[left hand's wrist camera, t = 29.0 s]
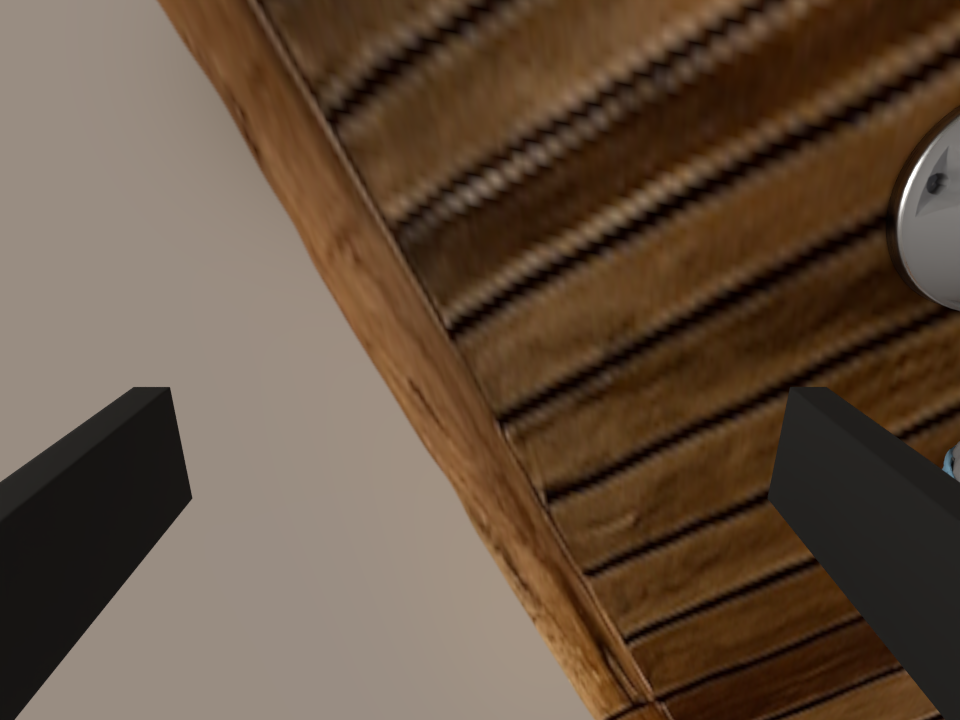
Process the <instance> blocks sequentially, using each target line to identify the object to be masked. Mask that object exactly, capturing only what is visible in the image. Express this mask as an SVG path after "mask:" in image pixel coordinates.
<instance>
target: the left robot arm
mask: <svg viewBox="0 0 960 720" xmlns="http://www.w3.org/2000/svg"><path fill="white" fill-rule="evenodd" d="M886 237H887V245H888V250H889V254H890V257H891V260H892V262H893V264H894V266H895V269H896V270H897V272H898V274H899V275H900V277H901V278H902V279H903V280H904V282H905V283H906V284H907V285H908V286H909V287H910V288H911V289H912V290H913V291H915V292H916V293H918V294H919V295H920V296H922V297H924V298H926V299H928V300H930V301H932V302H935V303H937V304H940V305H943V306H946V307H949V308H951V309H955V310H958V311H960V106H959V107H957V108H956V109H954V110H953V111H952V112H950V113H949V114H948V115H946V116H945V117H944V118H943V119H942V120H941V121H939V122H938V123H937V124H936V125H935V126H934V127H933V128H932V129H931V130H930V131H929V132H928V133H927V134H926V135H925V136H924V138H923V139H922V140H921V141H920V142H919V144H918V145H917V146H916V147H915V149H914V150H913V152H912V153H911V155H910V156H909V158H908V159H907V161H906V163H905V164H904V166H903V168H902V170H901V172H900V174H899V176H898V178H897V180H896V183H895V185H894V188H893V191H892V194H891V197H890V201H889V206H888V211H887V219H886ZM191 499H192V495H191V489H190V484H189V479H188V474H187V470H186V465H185V460H184V455H183V450H182V445H181V440H180V435H179V430H178V425H177V420H176V415H175V410H174V405H173V400H172V395H171V390H170V387H133V388H132V389H130V390H129V391H128V392H126V393H125V394H123V395H122V396H121V397H119V398H118V399H116V400H115V401H114V402H112V403H111V404H109V405H108V406H107V407H105V408H104V409H102V410H101V411H100V412H98V413H97V414H95V415H94V416H92V417H91V418H90V419H88V420H87V421H86V422H84V423H83V424H81V425H80V426H78V427H77V428H76V429H74V430H73V431H71V432H70V433H69V434H67V435H66V436H64V437H63V438H62V439H60V440H59V441H57V442H56V443H55V444H53V445H52V446H50V447H49V448H48V449H46V450H45V451H43V452H42V453H41V454H39V455H38V456H36V457H35V458H34V459H32V460H31V461H29V462H28V463H27V464H25V465H24V466H22V467H21V468H20V469H18V470H17V471H15V472H14V473H13V474H11V475H10V476H8V477H7V478H6V479H4V480H3V481H1V482H0V720H15V718H16V717H17V716H18V715H19V713H20V712H21V711H22V710H23V708H24V707H25V706H26V705H27V703H28V702H29V701H30V700H31V698H32V697H33V696H34V695H35V694H36V692H37V691H38V690H39V688H40V687H41V686H42V685H43V684H44V682H45V681H46V680H47V679H48V677H49V676H50V675H51V674H52V672H53V671H54V670H55V669H56V667H57V666H58V665H59V664H60V662H61V661H62V660H63V659H64V657H65V656H66V655H67V654H68V652H69V651H70V650H71V649H72V647H73V646H74V645H75V644H76V642H77V641H78V640H79V639H80V637H81V636H82V635H83V634H84V633H85V631H86V630H87V629H88V628H89V626H90V625H91V624H92V622H93V621H94V620H95V619H96V618H97V616H98V615H99V614H100V613H101V611H102V610H103V609H104V608H105V606H106V605H107V604H108V603H109V601H110V600H111V599H112V598H113V596H114V595H115V594H116V593H117V591H118V590H119V589H120V588H121V586H122V585H123V584H124V583H125V582H126V580H127V579H128V578H129V577H130V575H131V574H132V573H133V572H134V570H135V569H136V568H137V567H138V565H139V564H140V563H141V562H142V560H143V559H144V558H145V557H146V555H147V554H148V553H149V552H150V550H151V549H152V548H153V547H154V545H155V544H156V543H157V542H158V540H159V539H160V538H161V537H162V535H163V534H164V533H165V532H166V530H167V529H168V528H169V527H170V525H171V524H172V523H173V522H174V521H175V519H176V518H177V517H178V515H179V514H180V513H181V512H182V511H183V509H184V508H185V507H186V506H187V504H188V503H189V502H190V501H191ZM768 499H769V501H770V502H771V503H772V504H773V506H774V507H775V508H776V509H777V511H778V512H779V513H780V514H781V516H782V517H783V518H784V519H785V521H786V522H787V523H788V524H789V526H790V527H791V528H792V529H793V530H794V532H795V533H796V534H797V535H798V537H799V538H800V539H801V540H802V542H803V543H804V544H805V545H806V547H807V548H808V549H809V550H810V552H811V553H812V554H813V555H814V557H815V558H816V559H817V560H818V562H819V563H820V564H821V565H822V567H823V568H824V569H825V570H826V572H827V573H828V574H829V575H830V577H831V578H832V579H833V580H834V582H835V583H836V584H837V585H838V586H839V588H840V589H841V590H842V591H843V593H844V594H845V595H846V596H847V598H848V599H849V600H850V601H851V603H852V604H853V605H854V606H855V608H856V609H857V610H858V611H859V613H860V614H861V615H862V616H863V618H864V619H865V620H866V621H867V623H868V624H869V625H870V626H871V628H872V629H873V630H874V631H875V633H876V634H877V635H878V636H879V638H880V639H881V640H882V641H883V643H884V644H885V645H886V646H887V647H888V649H889V650H890V651H891V652H892V654H893V655H894V656H895V657H896V659H897V660H898V661H899V662H900V664H901V665H902V666H903V667H904V669H905V670H906V671H907V672H908V674H909V675H910V676H911V677H912V679H913V680H914V681H915V682H916V684H917V685H918V686H919V687H920V689H921V690H922V691H923V692H924V694H925V695H926V696H927V697H928V699H929V700H930V701H931V702H932V703H933V705H934V706H935V707H936V708H937V710H938V711H939V712H940V713H941V715H942V716H943V717H944V718H945V720H960V441H959V443H958V444H957V445H956V446H954V447H953V448H951V449H950V450H949V451H948V452H947V454H946V456H945V460H944V467H943V469H940V468H939V467H938V466H936V465H935V464H933V463H932V462H931V461H929V460H928V459H926V458H925V457H924V456H922V455H921V454H919V453H918V452H917V451H915V450H914V449H912V448H911V447H910V446H908V445H907V444H905V443H904V442H903V441H901V440H900V439H898V438H897V437H896V436H894V435H893V434H891V433H890V432H889V431H887V430H886V429H884V428H883V427H882V426H880V425H879V424H877V423H876V422H875V421H873V420H872V419H870V418H869V417H868V416H866V415H865V414H863V413H862V412H860V411H859V410H858V409H856V408H855V407H853V406H852V405H851V404H849V403H848V402H846V401H845V400H844V399H842V398H841V397H839V396H838V395H837V394H835V393H834V392H832V391H831V390H830V389H828V388H827V387H790V390H789V395H788V400H787V405H786V410H785V415H784V420H783V425H782V430H781V435H780V440H779V445H778V450H777V455H776V460H775V465H774V469H773V474H772V479H771V484H770V489H769V494H768Z"/></svg>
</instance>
